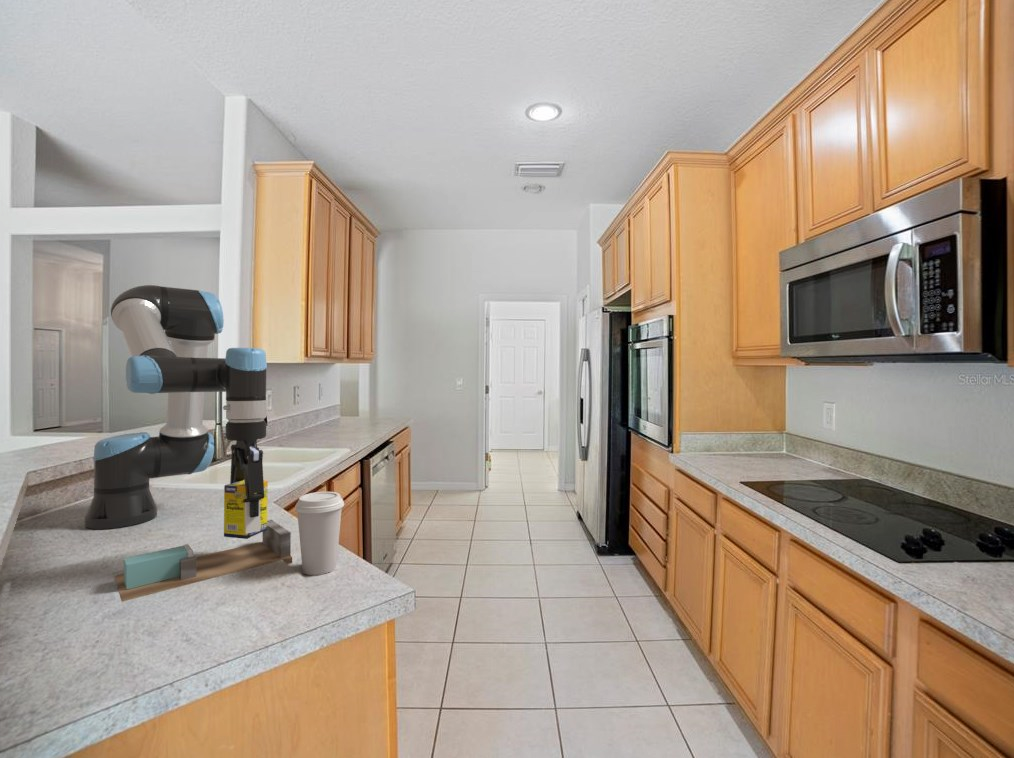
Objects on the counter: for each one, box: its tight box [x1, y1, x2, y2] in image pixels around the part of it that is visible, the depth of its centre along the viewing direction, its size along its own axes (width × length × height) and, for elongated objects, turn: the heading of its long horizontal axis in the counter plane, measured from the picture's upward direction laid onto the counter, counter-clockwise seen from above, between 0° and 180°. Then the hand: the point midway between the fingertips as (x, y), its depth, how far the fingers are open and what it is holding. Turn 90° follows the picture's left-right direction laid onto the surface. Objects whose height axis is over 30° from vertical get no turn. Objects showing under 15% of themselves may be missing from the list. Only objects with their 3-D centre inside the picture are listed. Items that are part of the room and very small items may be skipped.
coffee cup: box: [294, 491, 345, 576], centre depth 96 cm, size 10×10×15 cm
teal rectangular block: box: [123, 543, 194, 589], centre depth 88 cm, size 5×10×5 cm, turn 134°
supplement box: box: [223, 480, 268, 540], centre depth 99 cm, size 6×6×11 cm
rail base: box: [114, 519, 293, 602], centre depth 94 cm, size 14×28×6 cm, turn 134°
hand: (246, 526), depth 99 cm, fingers closed on supplement box, 8 cm apart
